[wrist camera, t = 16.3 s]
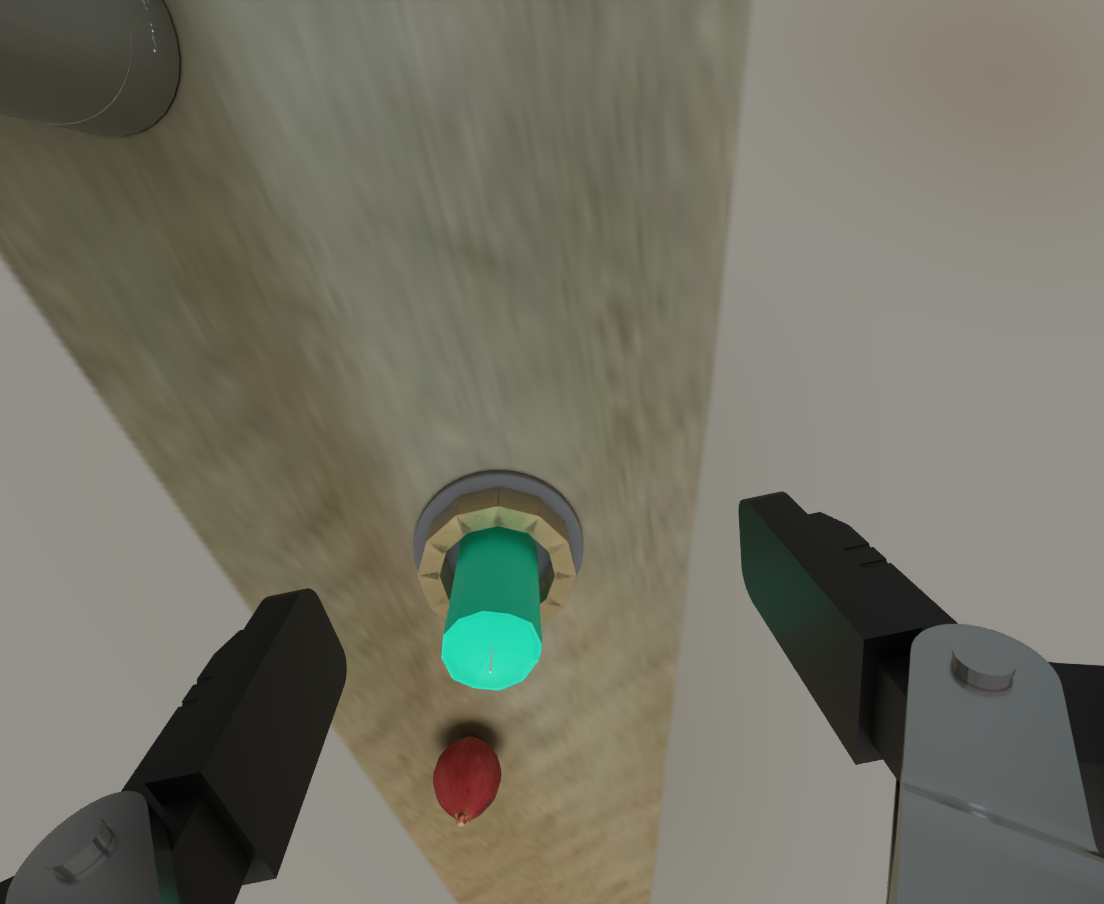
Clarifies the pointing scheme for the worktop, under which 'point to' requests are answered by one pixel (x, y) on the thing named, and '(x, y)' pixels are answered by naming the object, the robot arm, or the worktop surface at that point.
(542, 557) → the dish
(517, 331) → the worktop surface
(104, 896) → the robot arm
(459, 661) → the candle
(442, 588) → the collar
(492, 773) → the onion
